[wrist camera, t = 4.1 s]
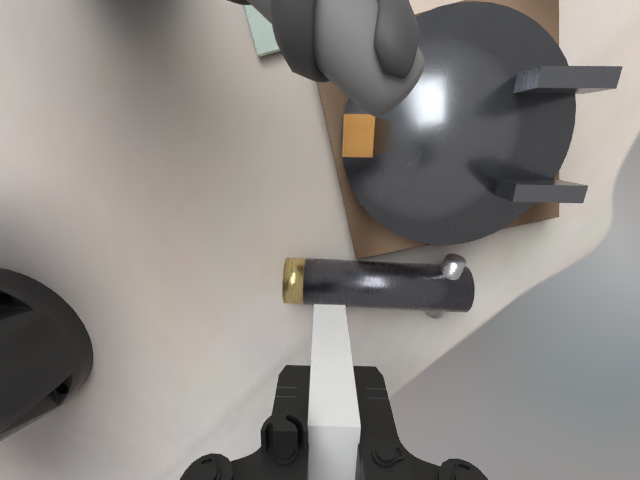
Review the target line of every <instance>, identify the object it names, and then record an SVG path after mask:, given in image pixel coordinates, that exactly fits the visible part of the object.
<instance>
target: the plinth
mask: <svg viewBox="0 0 640 480" xmlns="http://www.w3.org/2000/svg"><path fill="white" fill-rule="evenodd" d="M470 1H479V2H492V3H496V4H500V5H504V6H508V7H510V8H513V9H515V10H517V11H520V12H522V13H524V14H525V15H527V16H529V17H530V18H532V19H533V20H535V21H536V22H537V23H539V24H540V25H541V26H542V27H543V28H544V29H545V30H546V31H547V32H548V33H549V34H550V35H551V36H552V38H553V39H554V40H555V42H556V43H557V44H558V45H559V0H464V1H460V2H470ZM429 11H430V10H429ZM426 12H427V11H426ZM422 13H424V12H422ZM422 13H419V14H415V17H417V16H419V15H420V14H422ZM317 83H318V87H319V92H320V96H321V101H322V105H323V110H324V114H325V119H326V123H327V128H328V132H329V137H330V141H331V146H332V150H333V155H334V159H335V164H336V168H337V173H338V178H339V182H340V187H341V191H342V196H343V200H344V205H345V209H346V214H347V218H348V223H349V227H350V232H351V236H352V241H353V245H354V250H355V254H356V259H361V258H365V257H370V256H375V255H380V254H384V253H389V252H394V251H399V250H403V249H408V248H413V247H418V246H422V245H427V244H426V243H421V242H417V241H413V240H410V239H407V238H404V237H401V236H399V235H397V234H395V233H393V232H391V231H389V230H388V229H387V228H385V227H384V226H382V225H381V224H379V223H378V222H377V221H376V220H375V219H374V218H373V217H372V216H371V215H369V213H368V212H367V211H366V210H365V209H364V207H363V206H362V205H361V204H360V202H359V200H358V199H357V197H356V196H355V194H354V192H353V190H352V188H351V186H350V183H349V181H348V179H347V176H346V173H345V169H344V166H343V162H342V156H341V149H340V131H341V121H342V116H343V112H344V107H345V104H346V101H347V99H348V97H347V96H346V95H345V94H344V93H343V92H342V91H341V90H340V89H339V88H337V87H336V86H335V85H334V84H333V83H332V82H331V81H328V82H317ZM554 180H559V171H558V173H557V175H556V176H555V178H554ZM556 217H559V203H549V202H536V203H535V204H534V205H533V206H532V207H531V208H530V209H528V210H527V211H526V212H525V213H524V214H523V215H521V216H520V217H519V218H518V219H516V220H515V221H513V222H512V223H510V224H509V225H507V226H506V227H504V228H508V227H513V226H518V225H522V224H527V223H532V222H537V221H542V220H546V219H551V218H556ZM502 229H503V228H502Z"/></svg>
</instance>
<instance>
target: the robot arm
mask: <svg viewBox="0 0 640 480" xmlns="http://www.w3.org/2000/svg"><path fill="white" fill-rule="evenodd" d="M92 364H93V350H92V344H91V340H90V337H89V335H88V332H87V330H86V328H85V326H84V324H83V323H82V321H81V319H80V318H79V317H78V315H77V314H76V313H75V311H74V310H73V309H72V308H71V307H70V306H69V305H68V304H67V303H66V302H65V301H64V300H63V299H62V298H61V297H60V296H59V295H58V294H56V293H55V292H54V291H52V290H51V289H50V288H48V287H46V286H45V285H43V284H42V283H40V282H38V281H36V280H34V279H32V278H30V277H28V276H25V275H23V274H20V273H17V272H14V271H10V270H6V269H1V268H0V441H1V440H3V439H5V438H6V437H8V436H10V435H12V434H13V433H15V432H17V431H18V430H20V429H22V428H24V427H25V426H27V425H29V424H30V423H32V422H34V421H36V420H37V419H39V418H41V417H43V416H44V415H46V414H48V413H49V412H51V411H53V410H55V409H56V408H58V407H59V406H61V405H62V404H63V403H65V402H66V401H67V400H68V399H69V398H70V397H71V396H72V395H73V394H74V393H75V392H76V391H77V390H78V389H79V388H80V387H81V386H82V385H83V384H84V383H85V381H86V380H87V378H88V376H89V374H90V372H91V368H92ZM180 480H488V479H487V478H486V477H485V475H484V474H483V473H482V472H481V471H480V470H479V469H478V468H477V467H475V466H474V465H472V464H471V463H469V462H467V461H464V460H461V459H449V460H447V461H445V462H443V463H442V465H441V467H440V466H437V465H434V464H431V463H428V462H425V461H422V460H420V459H418V458H416V457H414V456H413V455H412V454H410V453H409V452H408V451H407V450H406V449H405V448H404V447H403V445H402V444H401V442H400V440H399V437H398V435H397V430H396V426H395V423H394V419H393V414H392V410H391V406H390V402H389V400H388V394H387V390H386V386H385V382H384V378H383V376H382V374H381V373H380V372H379V371H378V369H377V368H376V367H370V366H353V362H352V355H351V347H350V339H349V331H348V324H347V316H346V308H345V305H323V304H314V313H313V332H312V351H311V366H297V365H286V366H285V367H284V369H283V370H282V371H281V373H280V374H279V378H278V383H277V389H276V394H275V400H274V405H273V411H272V416H270V417H269V418H268V419H267V420H266V421H265V422H264V424H263V426H262V429H261V447H260V448H259V449H258V450H257V451H256V452H254V453H253V454H251V455H249V456H246V457H244V458H241V459H237V460H234V461H231V462H230V461H229V459H228V458H227V457H225V456H223V455H221V454H208V455H205V456H202V457H200V458H199V459H197V460H196V461H194V462H193V463H192V464H191V465H190V466H189V467H188V468H187V470H186V471H185V472H184V474H183V475H182V477H181V478H180Z"/></svg>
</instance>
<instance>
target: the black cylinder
mask: <svg viewBox="0 0 640 480" xmlns="http://www.w3.org/2000/svg"><path fill="white" fill-rule="evenodd" d="M465 265H466V261H465V259H464V258H463V257H461V256H460V255H457V254H448V255H447V256H446V258H445V261H444V263H443V265H433V264H412V263H390V262H368V261H346V260H324V259H302V258H286V261H285V266H284V274H283V302H284V304H304V305H314V304H323V305H345V307H366V308H386V309H407V310H426V312H427V314H428V315H429V316H431V317H432V318H441V317H442V316H443V314H444V311H448V312H467V311H469V310H470V308H471V306H472V304H473V300H474V281H473V277H472V274H471V272H470V270H469V269H468V268H467V267H466V266H465Z"/></svg>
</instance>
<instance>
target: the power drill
mask: <svg viewBox="0 0 640 480" xmlns="http://www.w3.org/2000/svg"><path fill="white" fill-rule="evenodd" d="M228 1H231V2H234V3H238V4H241V5H252V6H253V7H254V8H255V9H256V10H257V11H258V12H259V13H260V14H262V15H263V16H264V17H265V18H266V19H267V20H268V21H269V22H270V23H271V24H272V27H273V33H274V36H275V40H276V43H277V45H278V47H279V49H280V51H281V53H282V54H283V56H284V58H285V60H286V61H287V63H288V65H289V67H290V68H291V70H292V72H294V73H297V74H299V75H302V76H304V77H306V78H308V79H311V80H313V81H315V82H328V81H331V82H332V83H333V84H334V85H335V86H336V87H337V88H339V89H340V90H341V91H342V92H343V93H344V94H345V95H346V96H347V97H348V98H349V99H351V100H352V101H353V102H354V103H355V104H356V105H357V106H359V107H360V108H361V109H362V110H363V111H364V112H366V113H368V114H370V115H372V116H374V117H381V116H385V115H386V114H387V113H389V112H390V111H392V110H393V109H395V108H396V107H397V106H398V105H399V104H400V103H401V102H402V101H403V100H404V99H405V98H406V97H407V96H408V95H409V93H410V92H411V91H412V89H413V88H414V87H415V85H416V84H417V83H418V81H419V79H420V77H421V75H422V73H423V71H424V65H425V59H424V57H423V55H422V53H421V51H420V49H419V47H418V41H419V27H418V23H417V21H416V18H415V15H414V13H413V10H412V8H411V5H410V3H409V0H228Z"/></svg>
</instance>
